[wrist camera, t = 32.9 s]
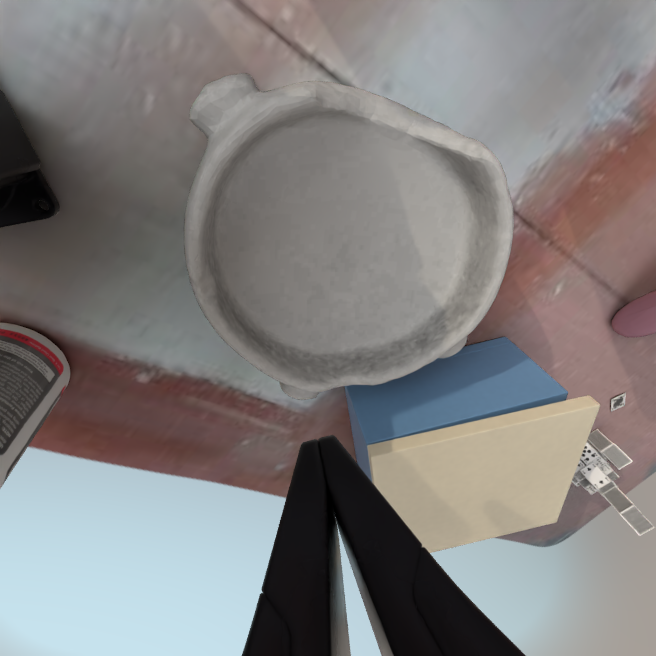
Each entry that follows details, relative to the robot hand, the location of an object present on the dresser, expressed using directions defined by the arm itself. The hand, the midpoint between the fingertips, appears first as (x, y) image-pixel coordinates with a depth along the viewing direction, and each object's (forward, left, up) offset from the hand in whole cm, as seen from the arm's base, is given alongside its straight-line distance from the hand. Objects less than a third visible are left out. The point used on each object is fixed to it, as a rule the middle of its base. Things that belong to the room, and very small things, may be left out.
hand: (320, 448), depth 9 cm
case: (+8, -14, -12) cm, 20 cm away
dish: (+3, +1, -12) cm, 13 cm away
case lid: (+8, -14, -6) cm, 17 cm away
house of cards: (+25, -23, -12) cm, 36 cm away
